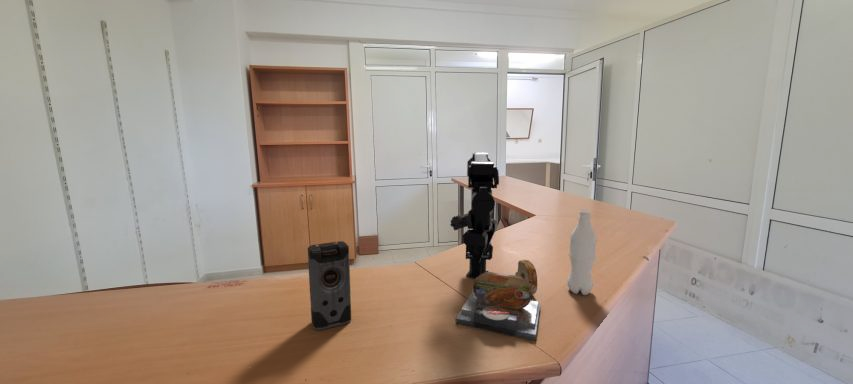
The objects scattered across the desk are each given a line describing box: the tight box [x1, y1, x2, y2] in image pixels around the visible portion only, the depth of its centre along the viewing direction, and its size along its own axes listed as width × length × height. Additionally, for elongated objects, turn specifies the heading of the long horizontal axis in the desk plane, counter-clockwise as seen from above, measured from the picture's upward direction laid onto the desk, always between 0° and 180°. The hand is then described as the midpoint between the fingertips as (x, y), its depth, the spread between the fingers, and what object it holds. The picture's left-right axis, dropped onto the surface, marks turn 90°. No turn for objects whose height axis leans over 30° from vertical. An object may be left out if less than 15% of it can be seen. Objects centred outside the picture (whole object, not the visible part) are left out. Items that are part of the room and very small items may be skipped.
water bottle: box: [566, 210, 597, 296], centre depth 99 cm, size 7×7×25 cm
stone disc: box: [514, 259, 538, 296], centre depth 99 cm, size 10×4×10 cm, turn 5°
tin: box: [472, 271, 532, 309], centre depth 87 cm, size 15×3×8 cm, turn 68°
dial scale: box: [455, 290, 541, 342], centre depth 85 cm, size 18×19×4 cm
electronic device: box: [307, 240, 352, 331], centre depth 82 cm, size 9×6×20 cm, turn 117°
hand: (480, 258), depth 96 cm, fingers open, 9 cm apart
